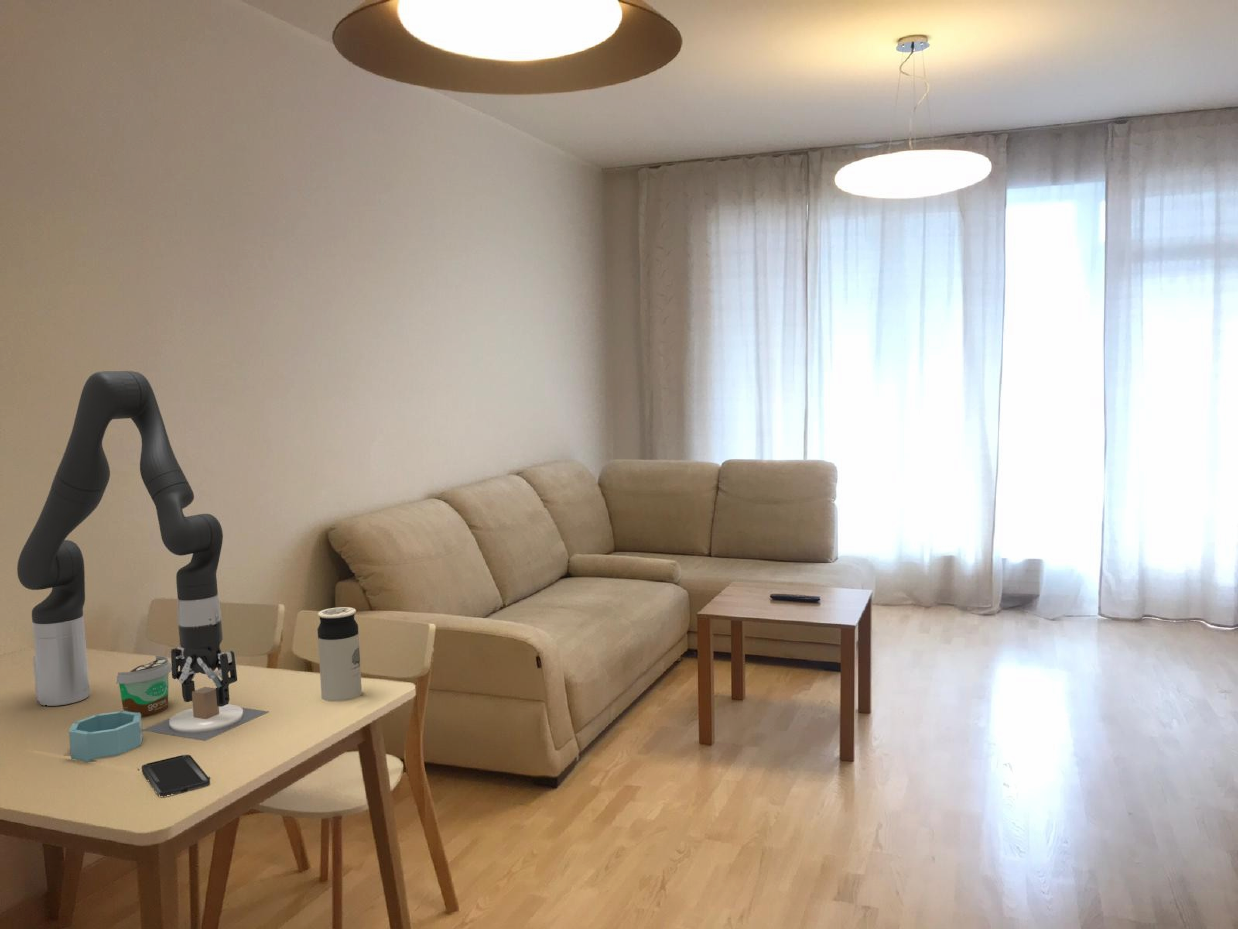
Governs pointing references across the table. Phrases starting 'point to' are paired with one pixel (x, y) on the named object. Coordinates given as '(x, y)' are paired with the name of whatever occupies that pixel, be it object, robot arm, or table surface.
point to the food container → (145, 687)
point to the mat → (165, 729)
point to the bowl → (105, 735)
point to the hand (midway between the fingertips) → (206, 703)
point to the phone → (175, 775)
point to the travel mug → (339, 654)
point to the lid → (205, 714)
